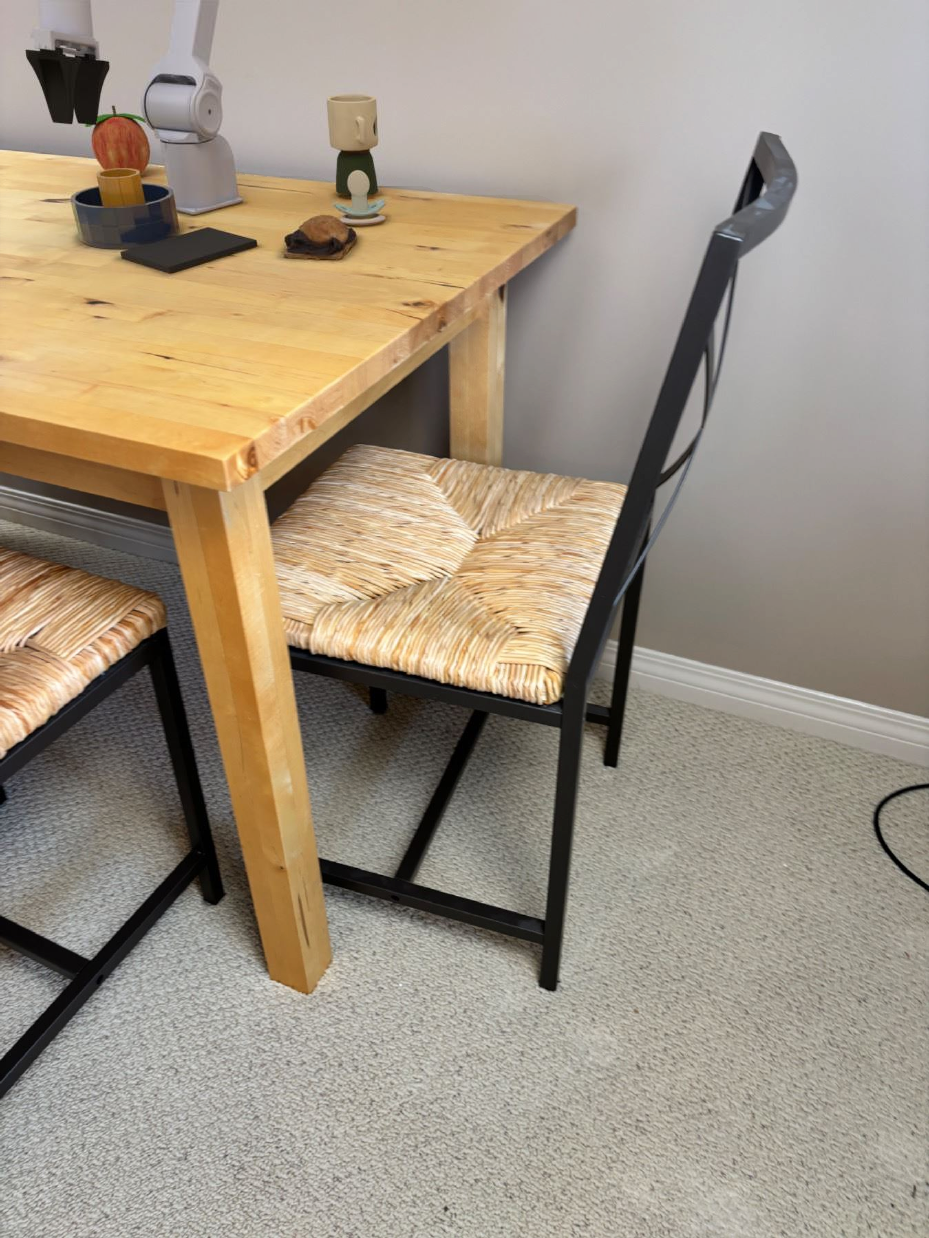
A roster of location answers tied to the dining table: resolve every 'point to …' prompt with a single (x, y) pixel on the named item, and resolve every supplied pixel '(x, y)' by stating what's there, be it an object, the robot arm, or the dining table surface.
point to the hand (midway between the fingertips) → (75, 124)
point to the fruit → (120, 142)
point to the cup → (120, 187)
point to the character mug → (353, 137)
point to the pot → (125, 219)
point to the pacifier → (360, 202)
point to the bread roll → (320, 239)
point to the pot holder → (188, 249)
